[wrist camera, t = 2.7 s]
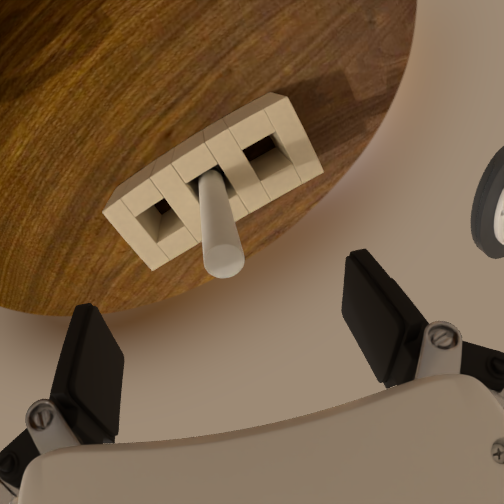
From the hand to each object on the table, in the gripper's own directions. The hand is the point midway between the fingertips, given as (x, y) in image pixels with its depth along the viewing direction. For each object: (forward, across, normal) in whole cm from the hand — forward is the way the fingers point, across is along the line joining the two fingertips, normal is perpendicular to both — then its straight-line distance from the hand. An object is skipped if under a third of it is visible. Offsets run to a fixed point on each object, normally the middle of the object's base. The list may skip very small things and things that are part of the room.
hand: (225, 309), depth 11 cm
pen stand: (+17, 0, 0) cm, 17 cm away
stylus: (+17, 0, 0) cm, 17 cm away
